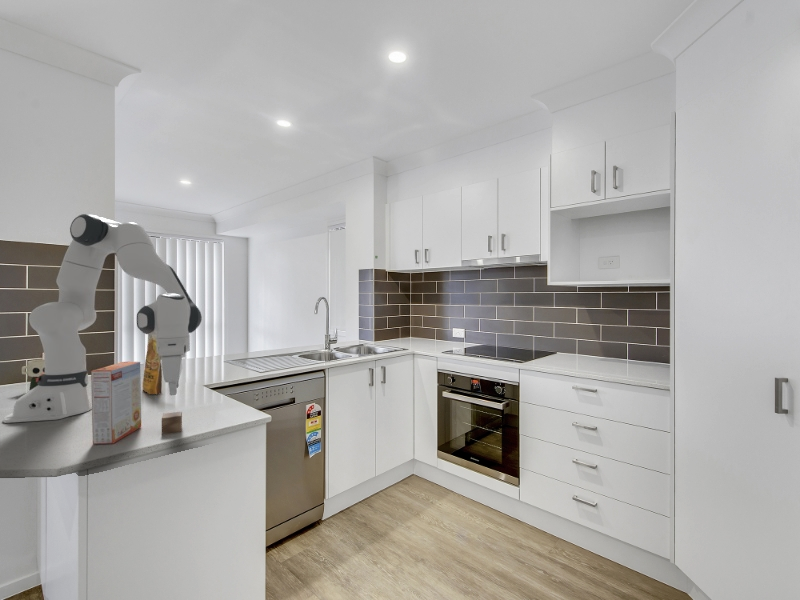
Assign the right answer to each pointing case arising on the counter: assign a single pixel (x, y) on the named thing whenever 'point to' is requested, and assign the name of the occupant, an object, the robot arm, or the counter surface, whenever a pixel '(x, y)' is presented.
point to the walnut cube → (171, 422)
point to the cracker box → (115, 401)
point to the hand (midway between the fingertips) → (174, 391)
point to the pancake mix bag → (152, 368)
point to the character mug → (34, 371)
